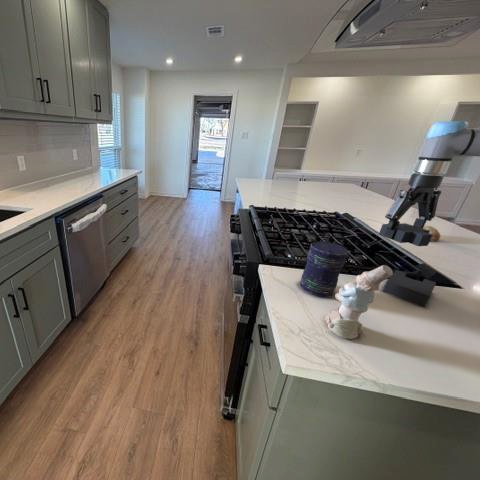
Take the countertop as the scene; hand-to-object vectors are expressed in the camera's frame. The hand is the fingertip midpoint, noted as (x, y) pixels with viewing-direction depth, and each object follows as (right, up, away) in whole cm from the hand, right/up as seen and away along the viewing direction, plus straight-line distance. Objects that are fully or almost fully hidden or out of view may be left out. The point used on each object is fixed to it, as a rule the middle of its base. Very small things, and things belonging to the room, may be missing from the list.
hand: (401, 237), depth 91 cm
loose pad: (0, -1, -1) cm, 2 cm away
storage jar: (-35, -17, -8) cm, 40 cm away
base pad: (-6, -18, -8) cm, 21 cm away
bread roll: (+46, 0, +36) cm, 59 cm away
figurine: (-39, -24, -24) cm, 52 cm away
